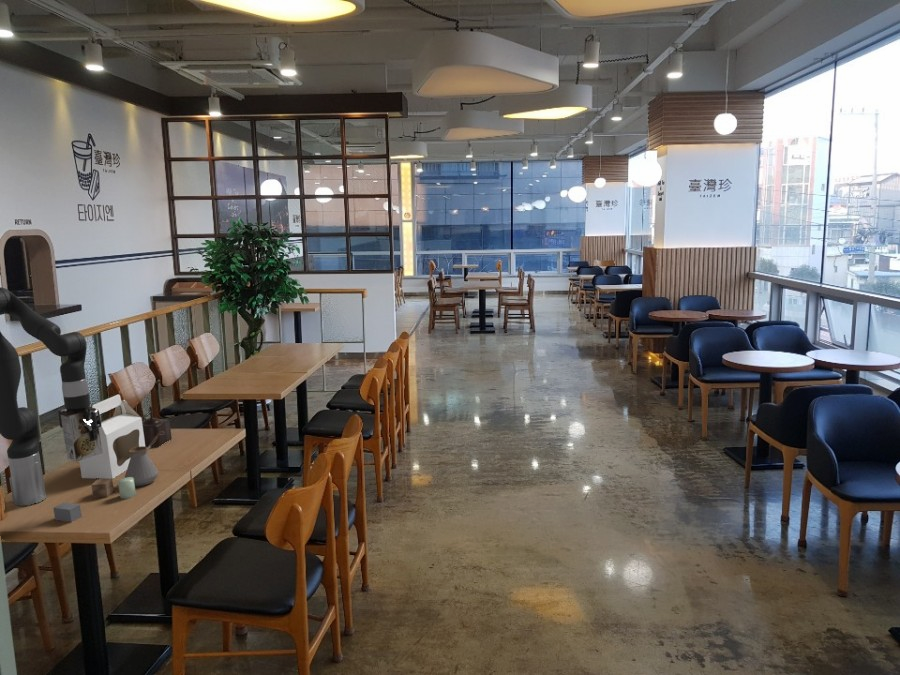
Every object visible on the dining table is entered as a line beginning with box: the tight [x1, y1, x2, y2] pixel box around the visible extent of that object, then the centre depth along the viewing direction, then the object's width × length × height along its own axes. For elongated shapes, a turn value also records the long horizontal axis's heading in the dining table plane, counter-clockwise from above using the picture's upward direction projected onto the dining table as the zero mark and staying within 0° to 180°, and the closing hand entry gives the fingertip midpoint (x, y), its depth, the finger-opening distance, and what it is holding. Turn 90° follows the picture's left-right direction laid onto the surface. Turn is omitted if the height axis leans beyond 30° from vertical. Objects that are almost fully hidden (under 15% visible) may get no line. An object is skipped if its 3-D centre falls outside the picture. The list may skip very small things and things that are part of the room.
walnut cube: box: [90, 479, 115, 499], centre depth 244 cm, size 5×5×5 cm
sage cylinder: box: [117, 477, 137, 500], centre depth 242 cm, size 5×5×6 cm
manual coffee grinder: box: [133, 406, 173, 448], centre depth 295 cm, size 16×11×18 cm
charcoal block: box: [52, 502, 83, 523], centre depth 226 cm, size 7×4×4 cm, turn 71°
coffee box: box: [60, 406, 103, 462], centre depth 229 cm, size 9×6×16 cm
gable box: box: [78, 394, 145, 480], centre depth 268 cm, size 22×13×28 cm, turn 170°
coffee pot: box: [124, 431, 165, 487], centre depth 258 cm, size 21×12×15 cm, turn 170°
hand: (82, 440), depth 230 cm, fingers closed on coffee box, 8 cm apart
